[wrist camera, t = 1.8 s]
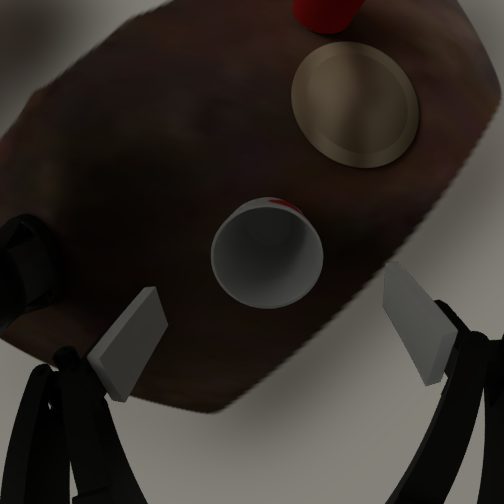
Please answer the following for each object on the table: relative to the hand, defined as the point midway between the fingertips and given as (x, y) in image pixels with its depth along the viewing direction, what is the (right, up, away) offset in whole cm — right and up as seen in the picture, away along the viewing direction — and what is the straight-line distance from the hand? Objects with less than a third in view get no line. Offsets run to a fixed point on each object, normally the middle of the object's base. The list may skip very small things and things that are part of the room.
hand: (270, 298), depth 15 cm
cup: (+1, +6, +14) cm, 16 cm away
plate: (+10, +18, +9) cm, 22 cm away
